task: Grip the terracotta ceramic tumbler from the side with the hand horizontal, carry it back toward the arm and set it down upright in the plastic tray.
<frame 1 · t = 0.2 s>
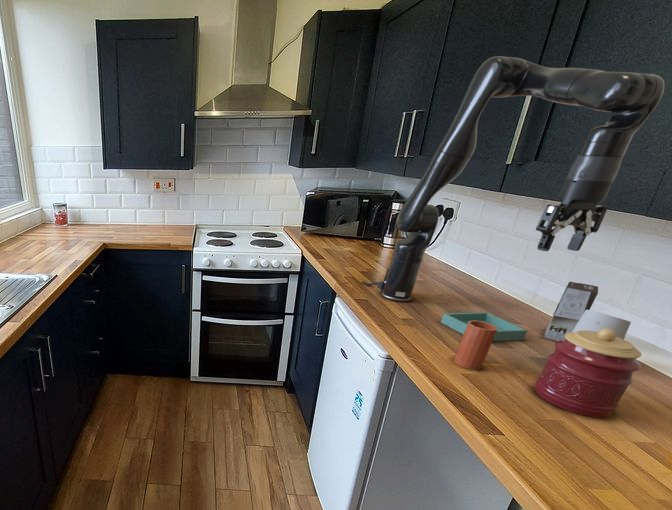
hand: (557, 250, 95), 29 cm above the worktop, tool pointing down, fingers open, 8 cm apart
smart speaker: (583, 360, 107), on the worktop
coffee box: (558, 337, 120), on the worktop
kitchen canister: (570, 401, 89), on the worktop
tumbler: (467, 363, 103), on the worktop
tray: (480, 330, 122), on the worktop
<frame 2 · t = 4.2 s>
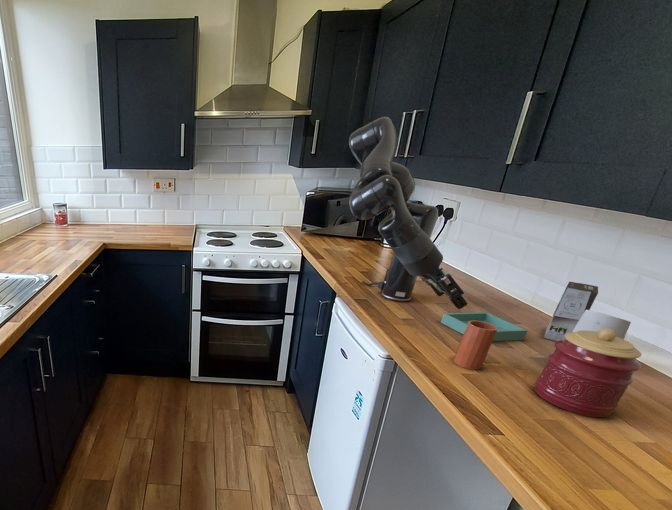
hand: (452, 300, 97), 17 cm above the worktop, tool tilted 45°, fingers open, 8 cm apart
nothing on the worktop moved.
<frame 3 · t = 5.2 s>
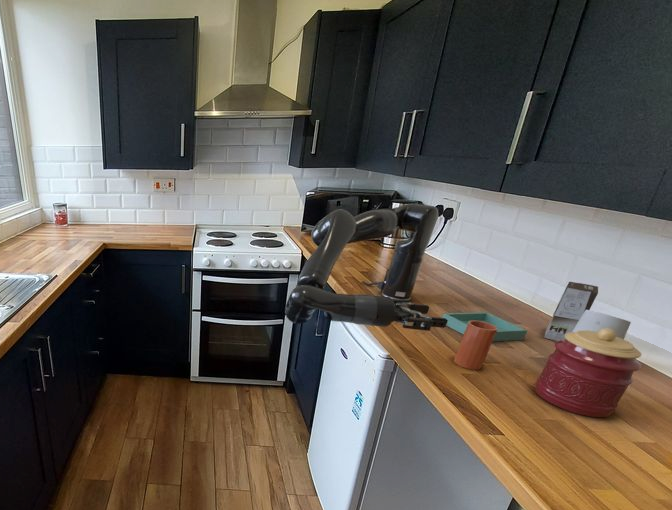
hand: (436, 316, 99), 13 cm above the worktop, tool horizontal, fingers open, 8 cm apart
nothing on the worktop moved.
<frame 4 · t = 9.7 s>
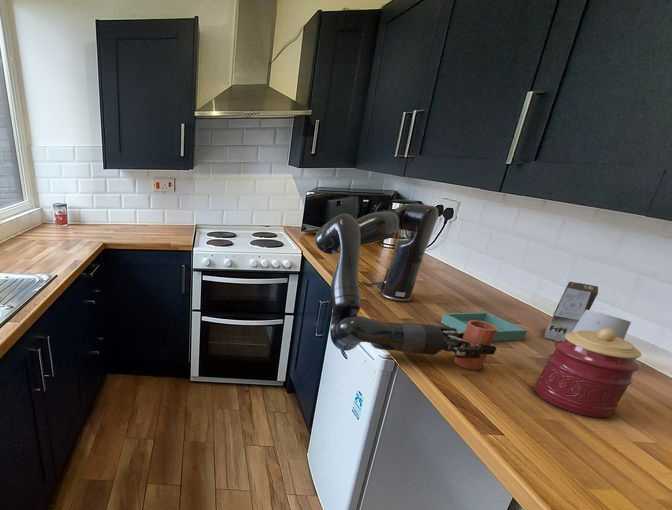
hand: (485, 344, 100), 6 cm above the worktop, tool horizontal, fingers closed on tumbler, 6 cm apart
tumbler: (467, 363, 103), on the worktop, touching gripper
everything else where it was.
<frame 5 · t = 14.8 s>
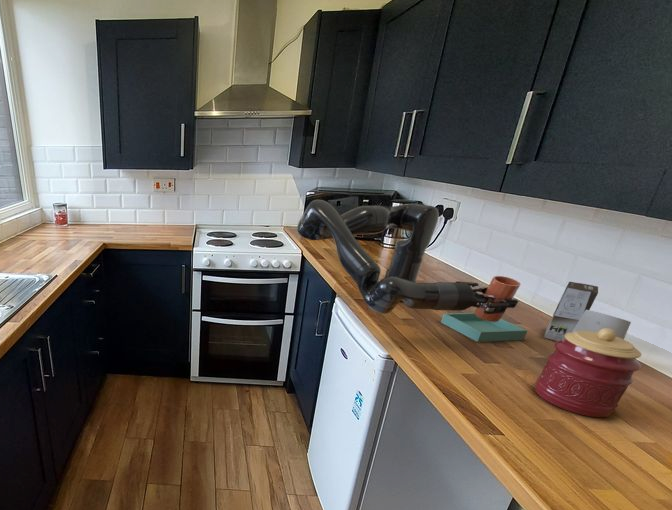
hand: (506, 297, 108), 14 cm above the worktop, tool horizontal, fingers closed on tumbler, 6 cm apart
tumbler: (486, 316, 111), point 8 cm above the worktop, tilted 9°, touching gripper
everything else where it was.
when the fingers open (7 cm above the worktop, at t = 20.4 s): tumbler stays where it is, resting on tray.
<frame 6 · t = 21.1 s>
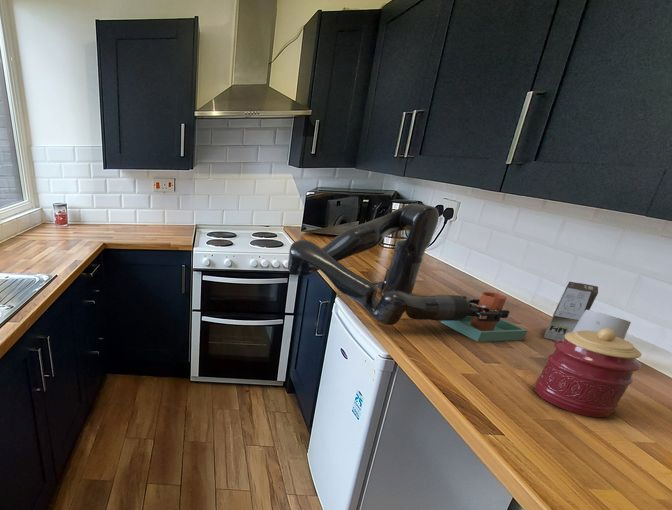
hand: (495, 308, 119), 7 cm above the worktop, tool horizontal, fingers open, 8 cm apart
tumbler: (481, 329, 122), point 1 cm above the worktop, touching tray
everything else where it was.
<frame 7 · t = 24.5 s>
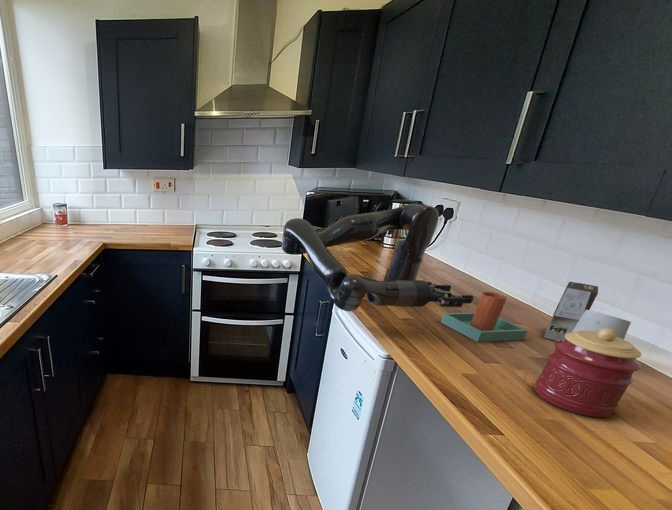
hand: (460, 294, 115), 13 cm above the worktop, tool horizontal, fingers open, 8 cm apart
nothing on the worktop moved.
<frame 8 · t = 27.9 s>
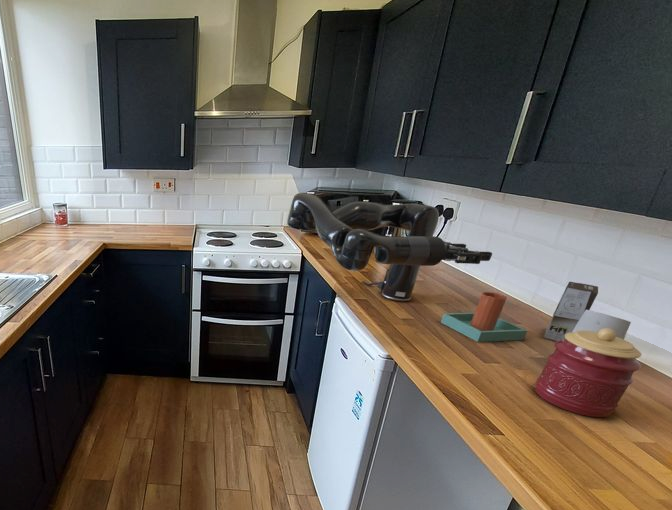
hand: (476, 252, 104), 26 cm above the worktop, tool horizontal, fingers open, 8 cm apart
nothing on the worktop moved.
at the end: tumbler inside the target area in the tray (0.0 cm from its centre), point 0.6 cm above the tray's base; tumbler tilted 0°; the gripper is holding nothing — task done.
